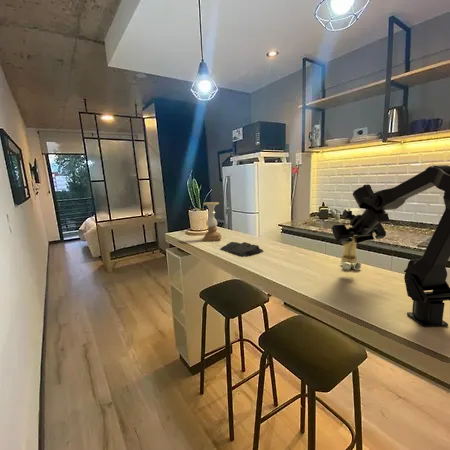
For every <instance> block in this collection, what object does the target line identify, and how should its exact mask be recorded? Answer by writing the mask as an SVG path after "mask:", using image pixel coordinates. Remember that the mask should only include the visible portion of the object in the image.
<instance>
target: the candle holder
mask: <svg viewBox="0 0 450 450" xmlns="http://www.w3.org/2000/svg"><path fill="white" fill-rule="evenodd" d="M219 204H220V202H219V201H210V202H209V201H208V202H203V206H206V207H207V209H208V211H207V214H208V219H207V220H206V226H207V232H205V234H204V236H203V239H202V241H203V242H220V241H221V240H222V234H221V233H220V232H218V231H217V230H218V228H217V226H218V221H217V219H216V218H215V214H216V211H215V208H216V206H217V205H219Z"/></svg>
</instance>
